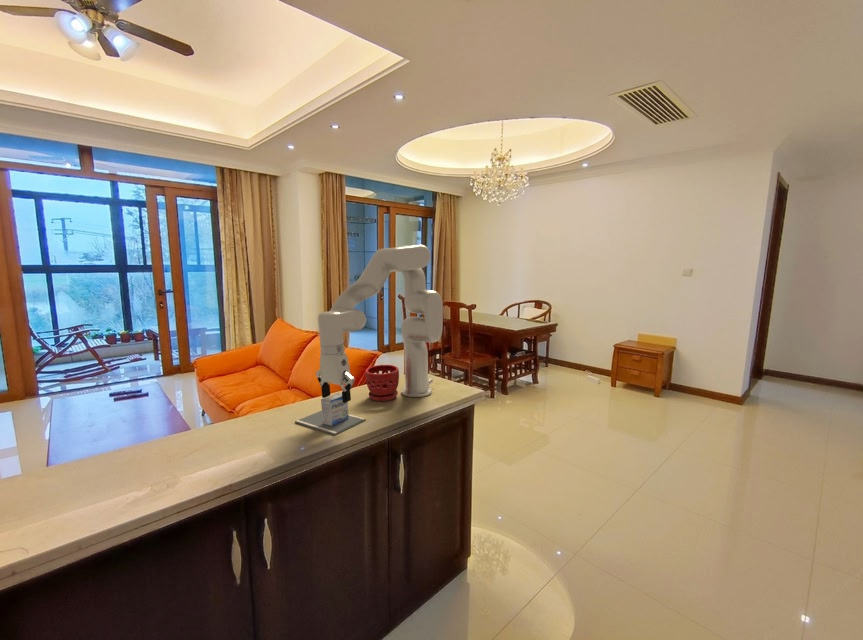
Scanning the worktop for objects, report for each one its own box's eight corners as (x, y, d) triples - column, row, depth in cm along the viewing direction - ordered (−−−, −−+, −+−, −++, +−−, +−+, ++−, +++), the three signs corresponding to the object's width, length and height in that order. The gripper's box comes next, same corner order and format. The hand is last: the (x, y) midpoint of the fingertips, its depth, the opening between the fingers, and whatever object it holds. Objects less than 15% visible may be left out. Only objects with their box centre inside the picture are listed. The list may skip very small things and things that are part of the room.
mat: (327, 409, 143) (327, 408, 143) (365, 420, 132) (365, 418, 132) (295, 422, 131) (295, 420, 131) (334, 435, 121) (334, 433, 121)
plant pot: (364, 394, 160) (363, 366, 158) (395, 391, 163) (395, 363, 162) (369, 405, 147) (367, 374, 146) (402, 401, 151) (402, 371, 149)
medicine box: (331, 426, 126) (330, 401, 125) (322, 423, 129) (320, 398, 127) (349, 418, 133) (347, 394, 131) (339, 416, 135) (338, 392, 134)
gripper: (359, 349, 126) (363, 399, 128) (323, 344, 135) (327, 391, 138) (342, 354, 119) (346, 407, 122) (305, 349, 129) (310, 398, 132)
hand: (336, 399), depth 130 cm, fingers open, 9 cm apart
